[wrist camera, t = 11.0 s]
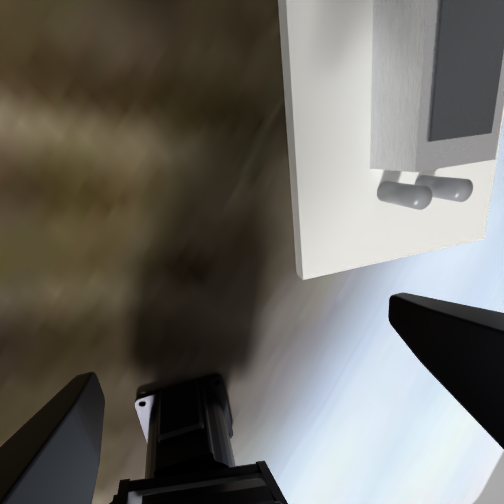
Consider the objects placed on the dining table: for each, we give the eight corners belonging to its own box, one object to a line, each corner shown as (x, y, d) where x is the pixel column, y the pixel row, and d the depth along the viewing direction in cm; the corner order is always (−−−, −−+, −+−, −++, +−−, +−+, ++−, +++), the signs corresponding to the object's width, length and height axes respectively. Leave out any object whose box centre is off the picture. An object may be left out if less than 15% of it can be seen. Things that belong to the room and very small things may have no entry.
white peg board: (470, 235, 26) (528, 251, 22) (296, 273, 23) (325, 301, 18) (526, -157, 18) (635, -252, 13) (265, -186, 14) (304, -322, 10)
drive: (438, 157, 21) (497, 159, 17) (369, 168, 20) (416, 172, 16) (455, -18, 18) (533, -65, 14) (373, -18, 17) (434, -67, 13)
